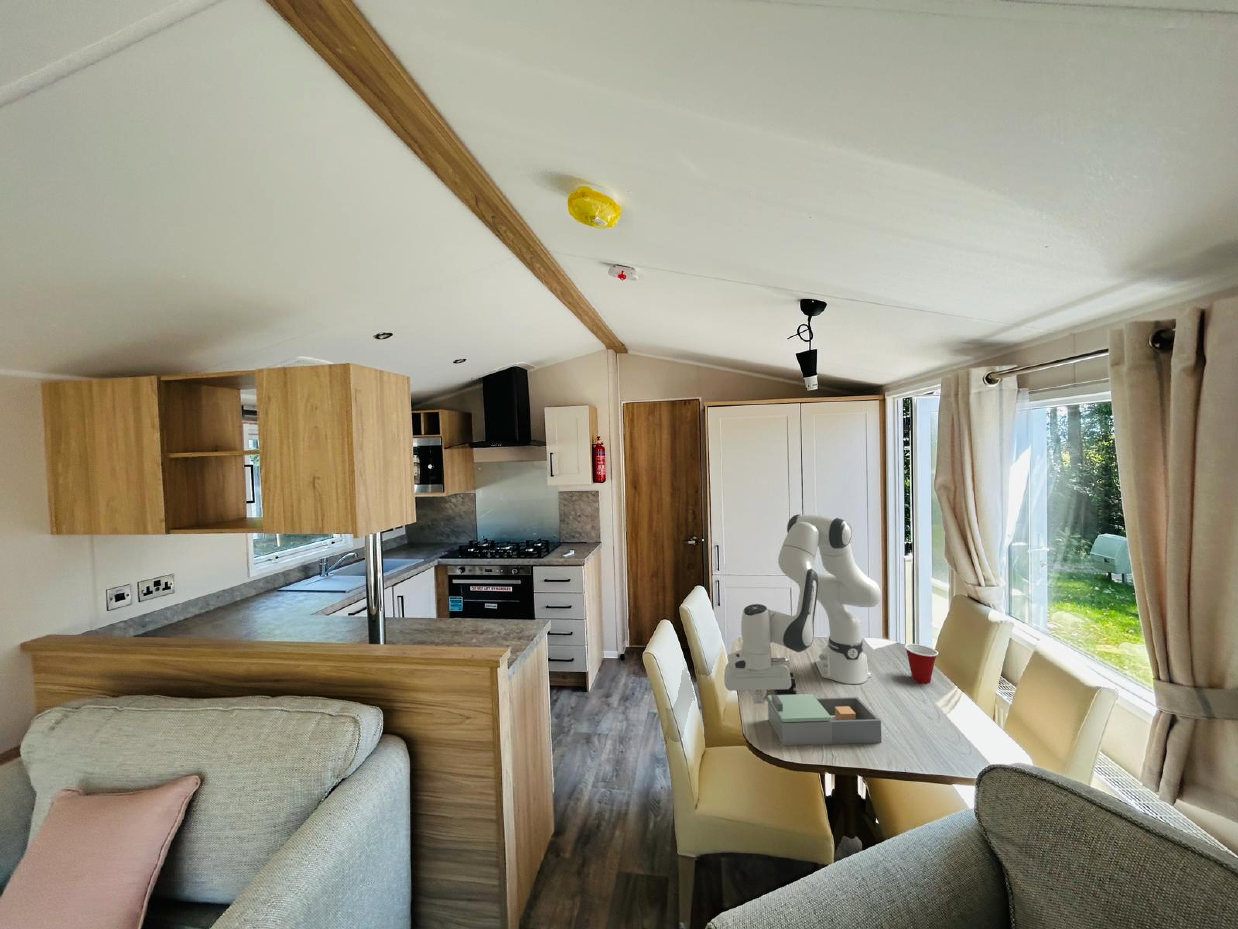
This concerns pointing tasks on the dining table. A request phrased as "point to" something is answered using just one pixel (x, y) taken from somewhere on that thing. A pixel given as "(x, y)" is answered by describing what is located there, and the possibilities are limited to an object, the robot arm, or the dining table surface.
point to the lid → (798, 708)
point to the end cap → (790, 690)
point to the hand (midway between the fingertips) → (758, 702)
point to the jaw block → (844, 713)
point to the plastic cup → (921, 661)
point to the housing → (830, 725)
